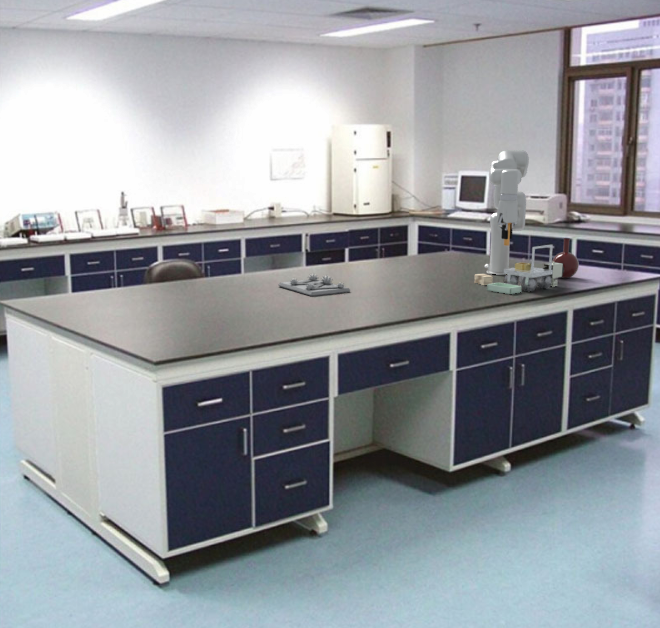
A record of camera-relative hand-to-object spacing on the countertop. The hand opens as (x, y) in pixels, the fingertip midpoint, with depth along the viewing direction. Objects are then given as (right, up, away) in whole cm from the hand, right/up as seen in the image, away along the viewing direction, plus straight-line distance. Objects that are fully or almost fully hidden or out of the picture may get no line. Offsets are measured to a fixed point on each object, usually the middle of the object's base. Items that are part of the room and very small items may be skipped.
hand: (506, 238), depth 399 cm
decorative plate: (-87, -24, +7) cm, 91 cm away
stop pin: (0, -3, +1) cm, 3 cm away
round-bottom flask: (+38, -16, +44) cm, 61 cm away
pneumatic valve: (+25, -21, +20) cm, 39 cm away
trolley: (+12, -22, +14) cm, 29 cm away
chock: (-6, -20, +25) cm, 33 cm away
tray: (0, -24, +5) cm, 25 cm away
